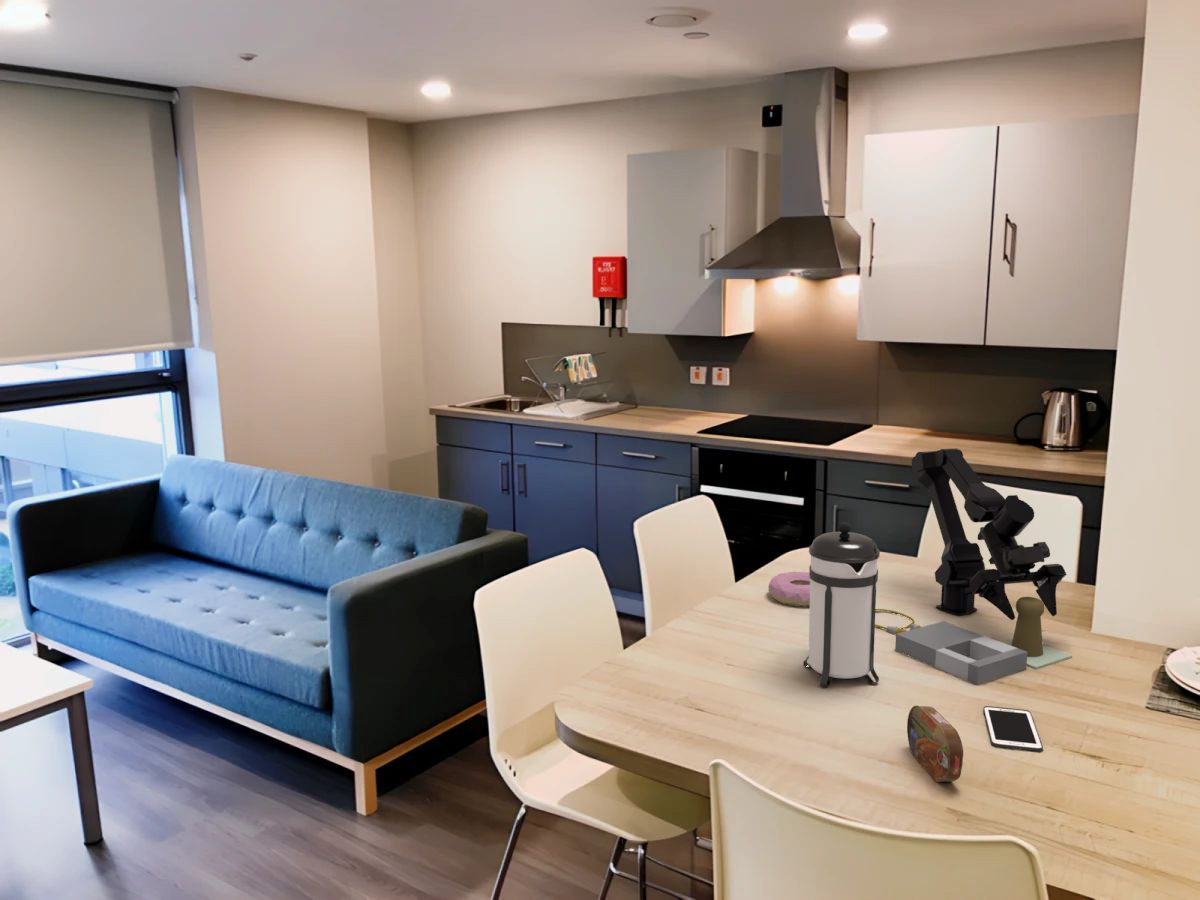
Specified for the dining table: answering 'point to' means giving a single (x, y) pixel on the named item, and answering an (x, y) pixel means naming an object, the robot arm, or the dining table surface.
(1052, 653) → the mat
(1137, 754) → the dining table surface
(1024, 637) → the cork
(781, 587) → the donut
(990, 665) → the socket block
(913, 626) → the gold chain necklace
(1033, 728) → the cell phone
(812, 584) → the coffee press
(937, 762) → the tin
